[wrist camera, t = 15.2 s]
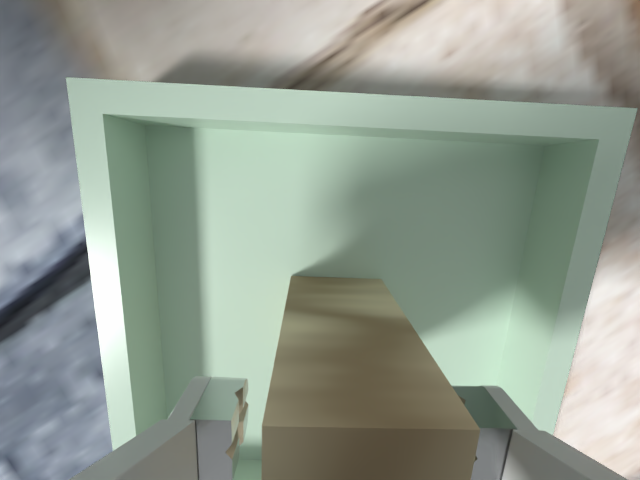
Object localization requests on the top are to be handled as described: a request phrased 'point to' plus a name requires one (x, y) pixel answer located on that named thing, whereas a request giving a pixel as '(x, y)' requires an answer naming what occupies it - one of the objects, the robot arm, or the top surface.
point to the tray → (336, 231)
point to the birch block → (359, 392)
